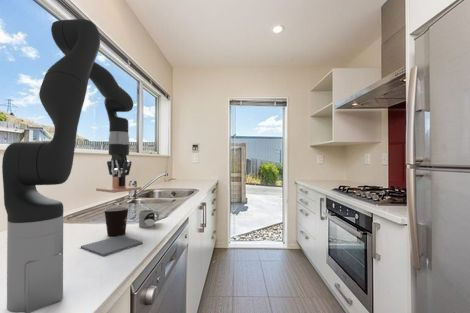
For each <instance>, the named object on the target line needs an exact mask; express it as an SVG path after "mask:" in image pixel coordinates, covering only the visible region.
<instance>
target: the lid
mask: <svg viewBox="0 0 470 313" xmlns="http://www.w3.org/2000/svg"><path fill="white" fill-rule="evenodd" d="M111 177H112V176H111ZM126 177H127V176H126ZM126 177H125V186H119V176H116V177H112V186H106V187H96V188H95V189H96V190H95V191H96V192H102V193H104V192H105V193H111V194H112V193H113V194H115V193H123V192H124V193H125V192H133V191H140V190H141V191H142V187H141V186H133V185H126Z"/></svg>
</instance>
